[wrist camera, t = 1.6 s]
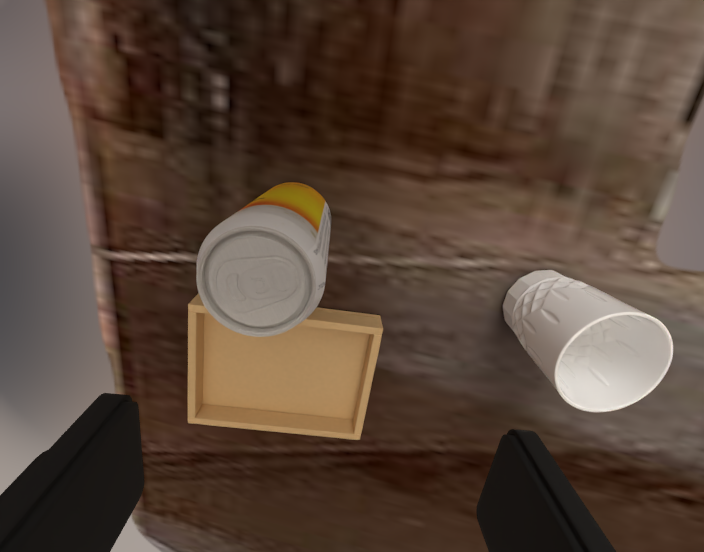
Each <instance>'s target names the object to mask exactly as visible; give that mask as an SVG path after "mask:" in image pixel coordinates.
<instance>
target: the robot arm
mask: <svg viewBox="0 0 704 552" xmlns="http://www.w3.org/2000/svg"><path fill="white" fill-rule="evenodd" d="M143 487H144V472H143V459H142V447H141V434H140V422H139V409H138V404H137V402H132V398H131V397H130V396H129V395H120V394H109V393H104V394H101V395H100V396H99V397H98V398H97V399H96V400H95V401H94V402H93V403H92V404H91V405H90V406H89V407H88V409H87V410H86V411H85V412H84V413H83V414H82V415H81V416H80V417H79V418H78V419H77V420H76V421H75V422H74V423H73V424H72V425H71V426H70V428H69V429H68V430H67V431H66V432H65V433H64V434H63V435H62V436H61V437H60V438H59V439H58V440H57V442H56V443H55V444H54V445H53V446H52V447H51V448H50V449H49V450H47V451H45V452H43V453H42V454H40V455H39V456H38V457H37V458H36V459H35V460H34V461H33V462H32V463H31V464H30V465H29V466H28V467H27V468H26V469H25V470H24V471H23V472H22V473H21V474H20V475H19V476H18V477H17V479H16V480H15V481H14V482H13V483H12V484H11V485H10V486H9V487H8V488H7V489H6V490H5V491H4V492H3V493H2V494H1V495H0V552H110V551H111V549H112V547H113V545H114V543H115V542H116V540H117V538H118V536H119V535H120V533H121V531H122V529H123V527H124V526H125V524H126V522H127V520H128V518H129V517H130V515H131V513H132V511H133V510H134V508H135V506H136V504H137V502H138V501H139V499H140V497H141V494H142V491H143ZM477 519H478V522H479V525H480V528H481V531H482V533H483V536H484V539H485V542H486V544H487V547H488V550H489V552H616V551H615V550H614V548H613V547H612V545H611V544H610V542H609V541H608V539H607V538H606V536H605V535H604V533H603V532H602V530H601V529H600V527H599V526H598V524H597V523H596V521H595V520H594V518H593V517H592V515H591V514H590V512H589V511H588V509H587V508H586V506H585V505H584V503H583V502H582V500H581V499H580V497H579V496H578V494H577V493H576V491H575V490H574V488H573V487H572V486H571V484H570V483H569V481H568V480H567V478H566V477H565V475H564V474H563V472H562V471H561V469H560V468H559V466H558V465H557V463H556V462H555V460H554V459H553V457H552V456H551V454H550V453H549V451H548V450H547V448H546V447H545V445H544V444H543V442H542V441H541V439H540V438H539V436H538V435H537V434H536V433H535V432H533V431H526V430H514V429H512V430H510V431H508V433H507V435H503V436H502V438H501V440H500V443H499V446H498V449H497V451H496V454H495V457H494V460H493V463H492V465H491V468H490V471H489V474H488V477H487V479H486V482H485V485H484V488H483V491H482V493H481V496H480V499H479V502H478V505H477Z"/></svg>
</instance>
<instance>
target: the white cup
mask: <svg viewBox="0 0 704 552" xmlns="http://www.w3.org/2000/svg"><path fill="white" fill-rule="evenodd" d="M503 313H504V320H505V321H506V323H507V324H508V325H509V326H510V328H511V329H512V330H513V331H514V333H515V334H516V336H517V338H518V340H519V342H520V343H521V344H522V346H523V347H524V349H525V350H526V352H527V353H528V354H529V356H530V357H531V358H532V359H533V361H534V362H535V363H536V365H537V366H538V367H539V368H540V370H541V371H542V372H543V374H544V375H545V376H546V377H547V379H548V380H549V381H550V383H551V384H552V385H553V386H554V388H555V389H556V390H557V392H558V393H559V394H560V396H561V397H562V398H563V399H564V400H565V401H566V402H567V403H568V404H570V405H571V406H573V407H575V408H578V409H580V410H584V411H588V412H608V411H614V410H618V409H621V408H624V407H626V406H629V405H631V404H633V403H635V402H637V401H639V400H640V399H642V398H643V397H645V396H646V395H647V394H649V393H650V392H651V391H652V390H653V389H654V388H655V387H656V386H657V385H658V384H659V383H660V381H661V380H662V379H663V377H664V376H665V374H666V373H667V371H668V369H669V366H670V364H671V360H672V356H673V342H672V338H671V335H670V333H669V331H668V330H667V328H666V327H665V326H664V325H663V324H662V323H661V322H660V321H659V320H657V319H656V318H654V317H652V316H650V315H648V314H646V313H644V312H642V311H640V310H638V309H636V308H634V307H632V306H630V305H628V304H626V303H624V302H622V301H620V300H618V299H616V298H614V297H612V296H610V295H608V294H606V293H604V292H602V291H600V290H598V289H596V288H594V287H592V286H589V285H587V284H585V283H583V282H581V281H578V280H573V279H571V278H570V277H568V276H565V275H563V274H561V273H558V272H556V271H554V270H540V271H534V272H532V273H529V274H527V275H525V276H523V277H521V278H519V279H518V280H517V281H516V283H515V284H514V285H513V286H512V287H511V288H510V289H509V290H508V291H507V294H506V297H505V300H504V303H503Z"/></svg>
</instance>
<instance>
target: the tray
mask: <svg viewBox="0 0 704 552" xmlns="http://www.w3.org/2000/svg"><path fill="white" fill-rule="evenodd" d="M188 311H189V312H188V423H192V424H202V425H213V426H223V427H233V428H243V429H253V430H263V431H273V432H283V433H293V434H303V435H313V436H323V437H333V438H343V439H353V440H360V436H361V432H362V427H363V423H364V418H365V413H366V408H367V404H368V399H369V394H370V389H371V385H372V380H373V375H374V370H375V366H376V361H377V356H378V351H379V347H380V342H381V337H382V332H383V326H382V322H381V317H380V315H373V314H365V313H357V312H350V311H342V310H334V309H326V308H319V307H316V309H315V310H314V311H313V312H312V314H311V315H310V316H309V317H307V318H306V319H305V320H304V321H302V322H301V323H299V324H298V325H296V326H295V327H293V328H292V329H290V330H288V331H286V332H284V333H281V334H278V335H274V336H268V337H254V336H247V335H243V334H240V333H237V332H235V331H232V330H230V329H228V328H227V327H225V326H223V325H222V324H221V323H219V322H218V321H217V320H216V319H215V318H214V317H213V316H212V315H211V314H210V313H209V312H208V310H207V309H206V308H205V306H204V304H203V302H202V300H201V298H200V295H199V293H198V294H197V295H196V296H195V297H194V299H193V300H192V301H191V302H190V303H189V304H188Z"/></svg>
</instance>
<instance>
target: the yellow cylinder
mask: <svg viewBox="0 0 704 552" xmlns="http://www.w3.org/2000/svg"><path fill="white" fill-rule="evenodd" d="M330 231H331V214H330V210H329V207H328V205H327V203H326V201H325V200H324V198H323V197H322V196H321V195H320V194H319V193H318V192H317V191H316V190H314V189H313V188H311V187H309V186H307V185H305V184H301V183H296V182H287V183H282V184H279V185H277V186H275V187H273V188H271V189H270V190H268V191H267V192H265V193H264V194H262V195H261V196H259V197H258V198H257V199H255V200H254V201H252V202H251V203H249V204H248V205H246V206H245V207H243V208H242V209H241V210H239V211H238V212H236V213H235V214H233V215H232V216H230V217H229V218H227V219H226V220H224V221H223V222H222V223H220V224H219V225H217V226H216V227H215V228H214V229H213V230H212V231H211V232H210V233H209V234H208V235H207V237H206V238H205V240H204V241H203V243H202V245H201V247H200V250H199V253H198V258H197V265H196V271H197V275H196V280H197V288H198V292H199V295H200V298H201V300H202V302H203V304H204V306H205V308H206V309H207V310H208V312H209V313H210V314H211V315H212V316H213V317H214V318H215V319H216V320H217V321H218V322H219V323H221V324H222V325H223V326H225V327H227V328H228V329H230V330H232V331H235V332H237V333H240V334H243V335H247V336H254V337H268V336H274V335H278V334H281V333H284V332H286V331H288V330H290V329H292V328H293V327H295V326H296V325H298V324H299V323H301V322H302V321H304V320H305V319H306V318H307V317H309V316H310V315H311V314H312V312H313V311H314V310H315V309H316V307H317V306H318V304H319V302H320V300H321V298H322V295H323V292H324V288H325V281H326V271H327V261H328V251H329V241H330Z"/></svg>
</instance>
